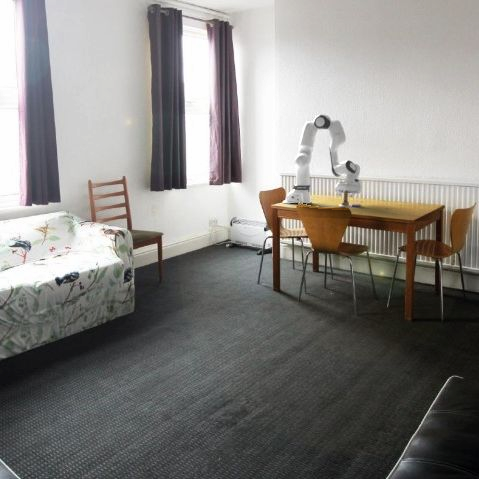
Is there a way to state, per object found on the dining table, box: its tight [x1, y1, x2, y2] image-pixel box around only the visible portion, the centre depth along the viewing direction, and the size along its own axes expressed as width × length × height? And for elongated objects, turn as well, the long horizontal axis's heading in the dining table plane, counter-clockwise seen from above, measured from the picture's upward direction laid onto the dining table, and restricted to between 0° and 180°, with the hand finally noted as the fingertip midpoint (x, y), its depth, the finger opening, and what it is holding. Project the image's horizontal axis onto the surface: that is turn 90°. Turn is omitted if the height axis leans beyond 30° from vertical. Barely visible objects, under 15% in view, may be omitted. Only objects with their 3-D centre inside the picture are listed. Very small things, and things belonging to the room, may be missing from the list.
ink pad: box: [351, 203, 361, 208], centre depth 433 cm, size 6×8×1 cm
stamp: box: [341, 190, 350, 207], centre depth 435 cm, size 4×4×11 cm
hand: (345, 196), depth 434 cm, fingers open, 8 cm apart
